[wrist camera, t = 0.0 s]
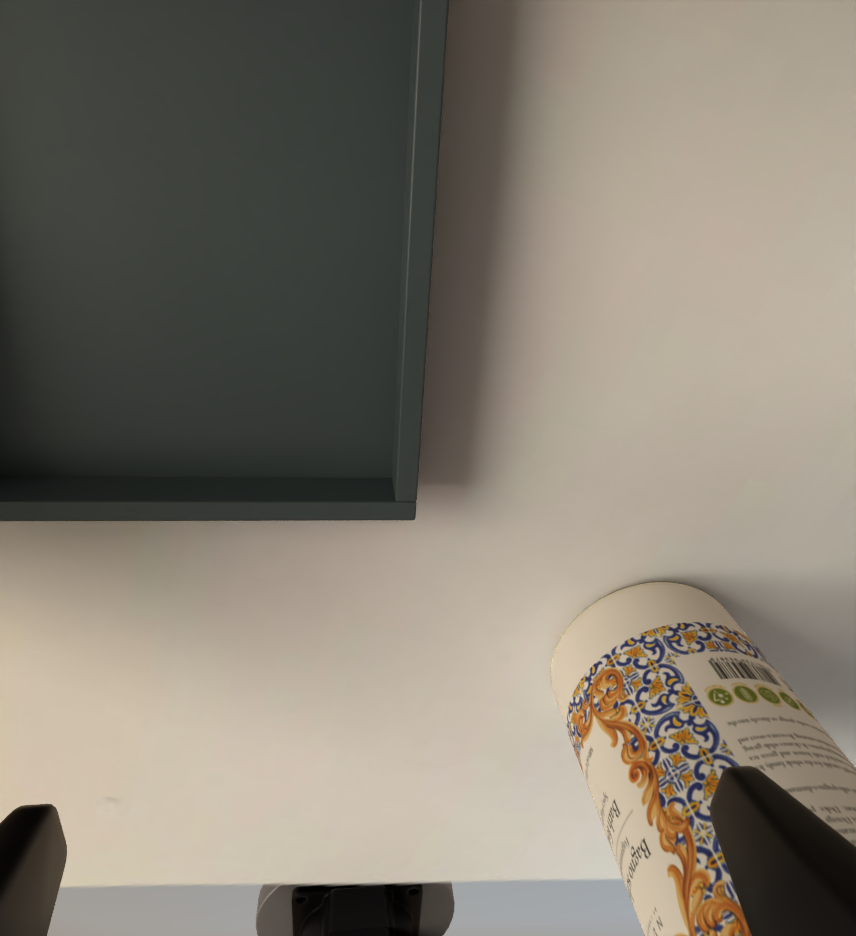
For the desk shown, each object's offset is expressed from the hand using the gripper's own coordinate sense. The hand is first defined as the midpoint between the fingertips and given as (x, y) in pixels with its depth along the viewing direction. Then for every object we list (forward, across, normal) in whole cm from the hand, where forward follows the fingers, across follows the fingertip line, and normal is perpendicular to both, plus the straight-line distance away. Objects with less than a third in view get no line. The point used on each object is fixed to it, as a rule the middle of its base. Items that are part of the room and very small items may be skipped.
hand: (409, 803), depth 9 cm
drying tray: (+12, +5, -6) cm, 14 cm away
